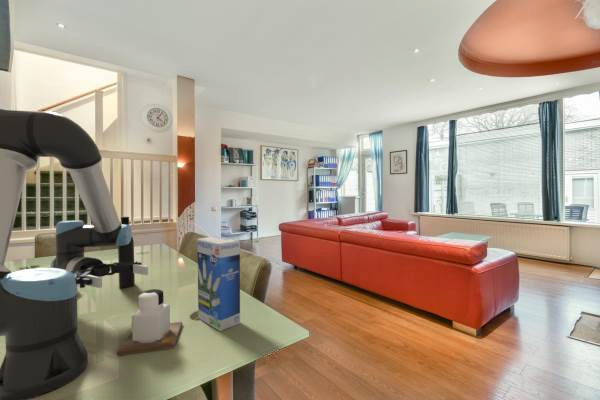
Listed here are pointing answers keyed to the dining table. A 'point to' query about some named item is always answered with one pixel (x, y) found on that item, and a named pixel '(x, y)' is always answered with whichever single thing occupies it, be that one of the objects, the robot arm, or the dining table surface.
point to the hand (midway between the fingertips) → (125, 276)
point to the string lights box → (219, 282)
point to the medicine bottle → (151, 317)
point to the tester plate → (151, 342)
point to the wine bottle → (126, 260)
